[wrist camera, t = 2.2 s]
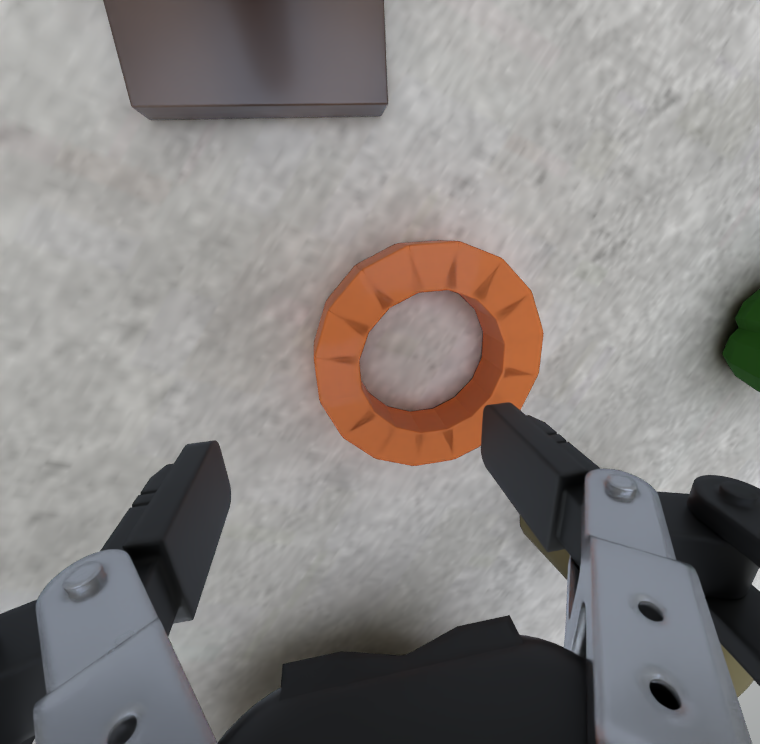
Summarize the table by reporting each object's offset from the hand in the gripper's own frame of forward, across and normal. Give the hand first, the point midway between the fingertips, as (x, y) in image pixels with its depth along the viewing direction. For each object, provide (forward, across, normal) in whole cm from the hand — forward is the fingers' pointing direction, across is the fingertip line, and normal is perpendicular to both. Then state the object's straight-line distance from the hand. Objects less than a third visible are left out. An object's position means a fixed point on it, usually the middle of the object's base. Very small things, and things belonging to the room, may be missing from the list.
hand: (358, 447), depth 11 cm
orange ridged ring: (+8, -4, 0) cm, 9 cm away
